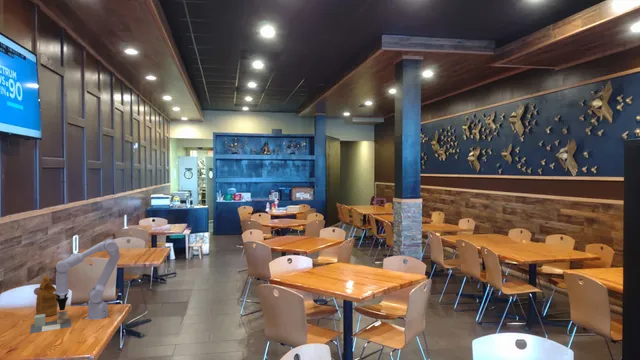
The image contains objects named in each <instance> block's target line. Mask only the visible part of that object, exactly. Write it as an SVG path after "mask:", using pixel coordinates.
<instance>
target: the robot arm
mask: <svg viewBox="0 0 640 360" xmlns="http://www.w3.org/2000/svg"><path fill="white" fill-rule="evenodd" d="M105 251H106V252H107V254H108V255H109V259H108V260H107V262H106V264H105V266H104V268H103V270H102V272H101V274H100V276H99V278H98V280H97V282H96V283H95V284H94V285H93V287H92V288H91V289H90V290H89V291H88V297H89V300H88V302H87V303H88V305H87V310H88V311H87V313H88V314H87V316H86V317H84V319H85V320H102V319H105V318H107V317H108V316H109V305H108V303H107V302H105V301H104V300H103V297H104V296H103V294H104V293H105V292H104V291H105V288H106V285H107V283H108V281H109V280H110V277H111V275H112V274H113V272H114V270H115V268H116V266H117V265H118V263H119V260H120V258H121V255H120V247H119V246H118V244H117V242H115V240H114V239H113V238H107V239H106V240H104V241H101V242H99V243H96V244H95V245H93V246H91V247H90V248H88V249H86V250H85V251H82V252H81V253H79V252H76V253H75V252H74V253H72V254H71V255H70V256H68V257H66V258H63V259H62V260H59V261H57V263H56V265H55V271H56V272H55V289H56V292H53V294H56V296H57V298H56V300H57V302H58V307H59V308H58V309H59V312H61V311H66V304H67V301H68V300H69V296H68V295H69V273H68V272H69V271H68V270H69V269H71V268H73V267H76V266H77V265H79V264H81V263H83V262H84V259H86V258H88V257H90V256H92V255H94V254H96V253H98V252H101V253H102V252H105Z"/></svg>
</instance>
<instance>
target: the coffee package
mask: <svg viewBox="0 0 640 360" xmlns="http://www.w3.org/2000/svg"><path fill="white" fill-rule="evenodd" d="M53 292H56V286H54V285H53V284H52V278H50V277H49V276H48V275H44V276H43V278H42V280H41V283H40V285H39V287H38V291H37V295H36V300H35V314H36V315H41V314H45V318H48V317H51V316H52V317H53V316H55V315H56V316H57V312H58V311H57V310H58V307H59V305H58V302H57V300H56V298H57V296H56V294H53Z"/></svg>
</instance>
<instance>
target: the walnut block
mask: <svg viewBox="0 0 640 360" xmlns="http://www.w3.org/2000/svg"><path fill="white" fill-rule="evenodd" d="M67 319H68V310H62V311H57V314H56V320H57V324H60V323H66V322H67Z"/></svg>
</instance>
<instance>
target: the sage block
mask: <svg viewBox="0 0 640 360" xmlns="http://www.w3.org/2000/svg"><path fill="white" fill-rule="evenodd" d="M45 322H46V317H45V314H41V315H34V324H35V327H41V326H45Z"/></svg>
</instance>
